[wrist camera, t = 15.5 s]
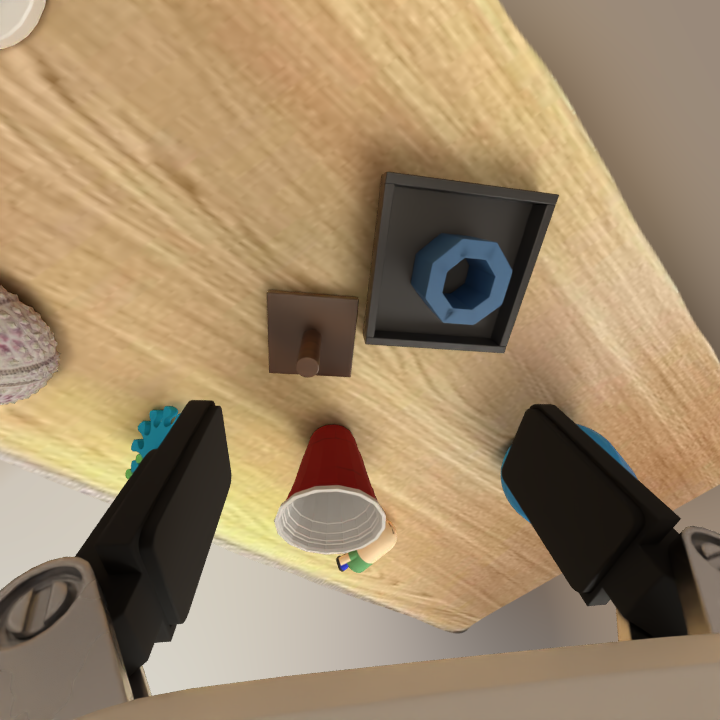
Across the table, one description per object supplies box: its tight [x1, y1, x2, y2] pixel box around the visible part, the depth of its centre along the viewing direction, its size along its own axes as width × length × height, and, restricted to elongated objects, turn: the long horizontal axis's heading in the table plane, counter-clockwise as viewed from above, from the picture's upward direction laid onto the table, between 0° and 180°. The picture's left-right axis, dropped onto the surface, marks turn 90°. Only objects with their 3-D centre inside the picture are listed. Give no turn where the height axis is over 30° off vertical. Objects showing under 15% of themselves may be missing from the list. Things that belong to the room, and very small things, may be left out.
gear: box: [126, 406, 181, 479], centre depth 36 cm, size 11×6×10 cm
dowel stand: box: [267, 290, 359, 377], centre depth 30 cm, size 9×9×8 cm
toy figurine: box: [336, 520, 397, 573], centre depth 47 cm, size 8×4×12 cm
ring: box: [411, 233, 512, 325], centre depth 28 cm, size 7×7×6 cm
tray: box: [363, 172, 559, 353], centre depth 30 cm, size 15×15×3 cm
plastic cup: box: [274, 424, 386, 554], centre depth 35 cm, size 11×11×12 cm
